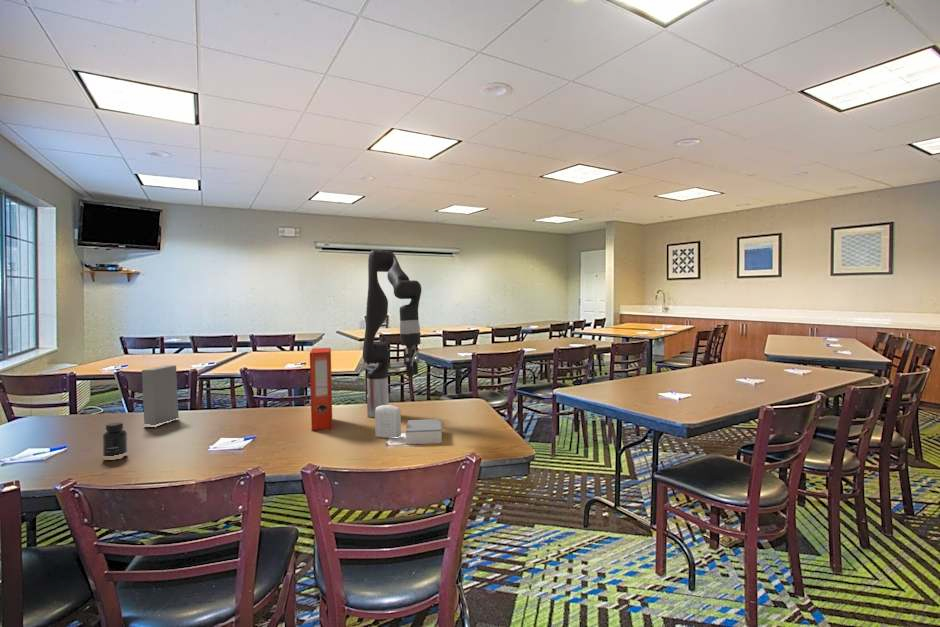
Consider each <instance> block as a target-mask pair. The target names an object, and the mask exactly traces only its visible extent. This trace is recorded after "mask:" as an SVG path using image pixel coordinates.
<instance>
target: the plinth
mask: <svg viewBox="0 0 940 627" xmlns="http://www.w3.org/2000/svg"><path fill="white" fill-rule="evenodd" d="M442 437H443V436H442V419H441V418H435V419H434V418H433V419H431V418H429V419H428V418H427V419H410V420H407V424H406V430H405V442H406V443H405V445H424V444H425V445H427V444H443V441H442V440H443V439H442Z"/></svg>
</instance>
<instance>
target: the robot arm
mask: <svg viewBox="0 0 940 627" xmlns="http://www.w3.org/2000/svg"><path fill="white" fill-rule="evenodd" d="M367 264H368V265H367V267H368V268H367V269H368V270H367V271H368V272H367V273H368V274H367V276H368V277H367V278H368V283H367V284H368V285H367V286H368V288H367V299H366V311H365V313H366V314H365V315H366V317H365V331H364V339H363V346H362V359H363V362H364V363H365V364H377V365H376V366H375V367H374V368H372V369H370V370H368V371H367V373H366V381H367V385H366V386H367V395H366V408H367V409H366V412H367V413H366V414H367V417H369V418H375V409H376V407H378V406H382V405H390V403H389V380H388V379H389V378H388V375H389V347H388V344H387V343H386V342H384V341H377V342H375V339H376V335H377V333H378V331H379V330H380V328H381V327H382V325H383V324H384V322H385V321H386V319H387V316H388V312H389V311H388V309H389V300H388V297H387V296H386V294H385V292H384V290H383V288H382V287H381V285H380V282H379V278H378V273H379V272H381V273H387V280H388V282H389V284H391V286H392V288H393V295H394V297H395V298H397V299H399V300H409V299H410V302H409V303H407V304H404V305H401V306H399V333H400V334H399V335H400V336H399V338H400V345H401V346H405V348H403V364H404V366H405V368H406V376H407V377H408V378H410V377H414V375H418V374H419V366H418V365H419V363H420V355H419V347H418V346H419V345H421V344H422V343H421V329H420V321H419V306H420V305H419V304H420V300H421V296H422V290H423V289H422V285H421V282H419V281H418V280H410V278H409V276H408V275H407V273H405V271H404V270H403V269H402V268H401V265H400V263H399V261H398V258H397V257H396V255H395V254H394V252H393V251H390V250H384V249H383V250H379V249H372V250H371V251H370V252H369V253H368V262H367Z"/></svg>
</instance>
